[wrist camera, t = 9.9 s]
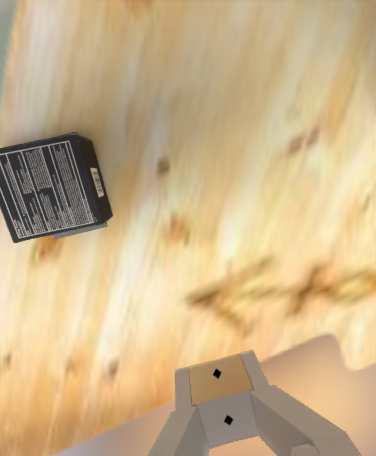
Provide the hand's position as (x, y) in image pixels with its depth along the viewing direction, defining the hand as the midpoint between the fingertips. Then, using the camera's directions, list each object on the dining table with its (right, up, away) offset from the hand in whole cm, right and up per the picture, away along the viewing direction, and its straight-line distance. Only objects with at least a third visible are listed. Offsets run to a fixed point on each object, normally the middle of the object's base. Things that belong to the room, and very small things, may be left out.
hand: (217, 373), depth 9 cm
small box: (-12, +11, +21) cm, 27 cm away
